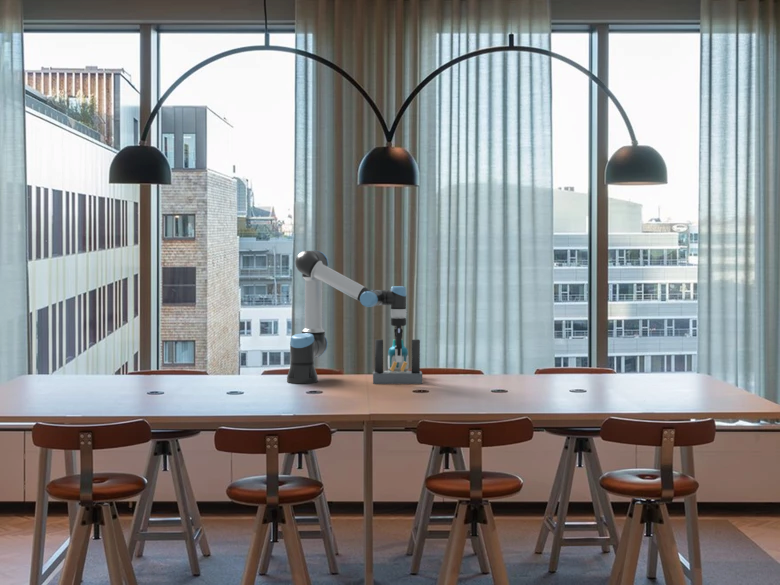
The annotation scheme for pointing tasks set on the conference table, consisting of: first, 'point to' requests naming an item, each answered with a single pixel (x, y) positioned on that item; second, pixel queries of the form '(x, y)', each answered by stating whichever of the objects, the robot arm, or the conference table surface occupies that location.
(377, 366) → the post left
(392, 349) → the vase
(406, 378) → the gray rectangular base
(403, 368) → the paddle
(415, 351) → the post right
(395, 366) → the paddle
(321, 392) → the conference table surface
